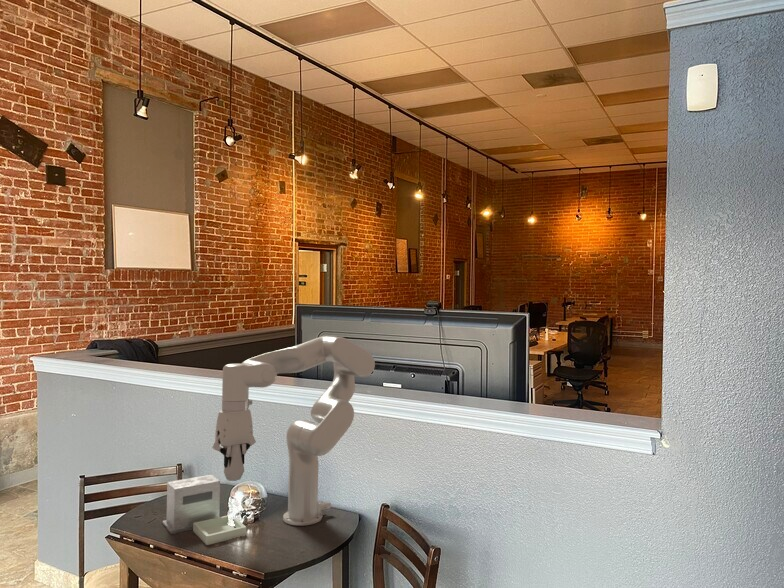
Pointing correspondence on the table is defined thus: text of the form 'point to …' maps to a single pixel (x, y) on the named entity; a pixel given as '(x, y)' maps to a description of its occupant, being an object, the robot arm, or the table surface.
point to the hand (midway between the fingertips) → (234, 467)
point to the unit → (191, 502)
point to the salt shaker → (234, 465)
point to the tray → (218, 530)
